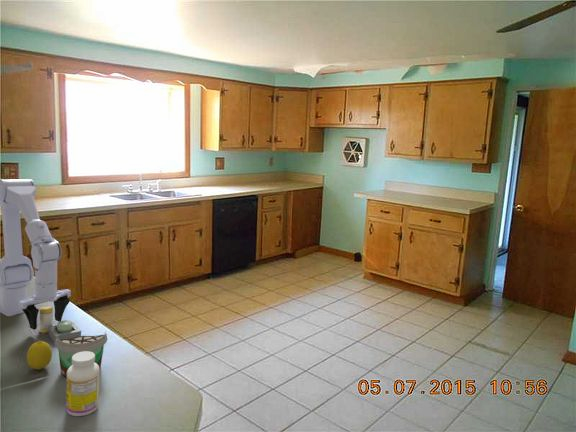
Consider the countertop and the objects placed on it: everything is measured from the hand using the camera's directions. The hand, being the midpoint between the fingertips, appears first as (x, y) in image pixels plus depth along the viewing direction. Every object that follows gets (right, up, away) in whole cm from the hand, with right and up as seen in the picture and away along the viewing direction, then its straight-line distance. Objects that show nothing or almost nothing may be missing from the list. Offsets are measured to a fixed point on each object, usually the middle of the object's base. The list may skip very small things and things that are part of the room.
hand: (46, 324), depth 131 cm
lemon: (+9, -7, -20) cm, 23 cm away
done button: (+7, -1, -2) cm, 7 cm away
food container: (+21, -8, -20) cm, 30 cm away
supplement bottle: (+27, -11, -33) cm, 44 cm away
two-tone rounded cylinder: (0, -2, 0) cm, 2 cm away
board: (+2, -2, 0) cm, 3 cm away
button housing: (+7, -3, -2) cm, 8 cm away
